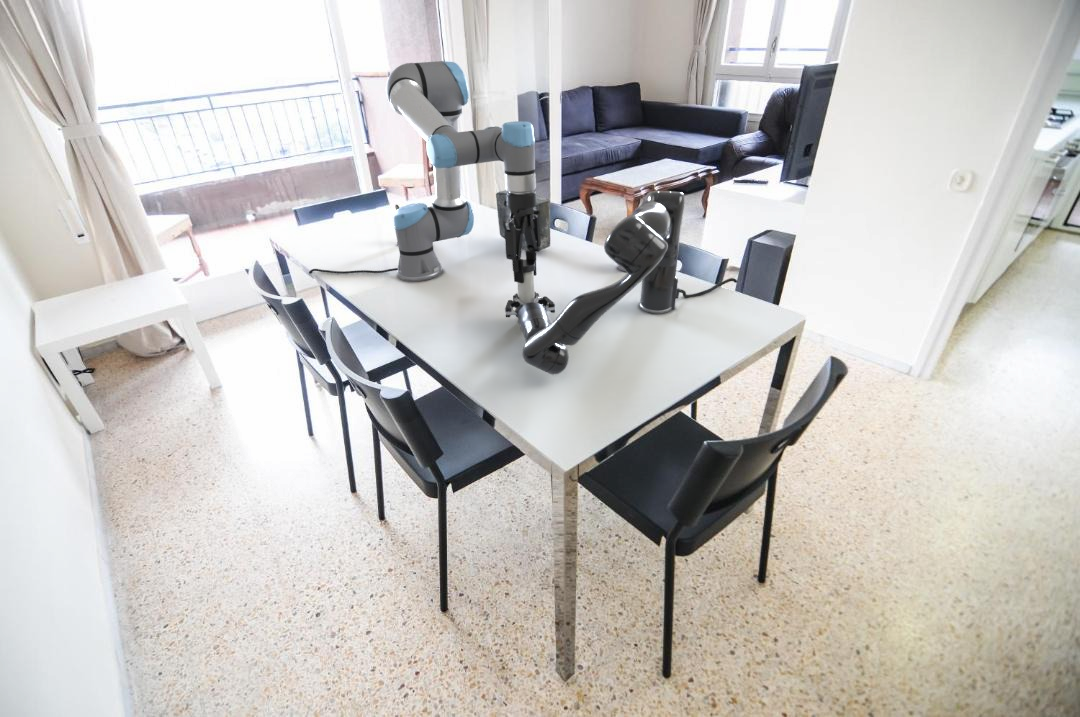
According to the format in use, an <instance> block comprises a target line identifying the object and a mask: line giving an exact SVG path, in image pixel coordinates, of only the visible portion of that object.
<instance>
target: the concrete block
mask: <svg viewBox="0 0 1080 717" xmlns="http://www.w3.org/2000/svg"><path fill="white" fill-rule="evenodd" d="M507 192H508V191H507V190H506V189H505V190H500V191H498V192H496V193H495V199H496V200H495V201H496V209H497V221H498V230H499V235H500V237H501V238H503V239H505V229H504V226H503V222H504V221H508V220H509V219H510V213H511V210H510V209H509V208H508V207H507V201H506V193H507ZM533 209H534V210H540V237H541V246H540V247H538V248H540V250H539V252H540V251H542V250H545V249H547V248H549V247H551V200H550V199H549V198H546V197H544V196H541V195H538V194H536V206H535V207H534V208H533ZM534 219H535V218H534ZM517 230H521V229H517ZM536 242H537V241H536ZM522 250H526V251H529V250H528V248H527V244H526V240H525V235H524V234H523V240H522Z"/></svg>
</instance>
